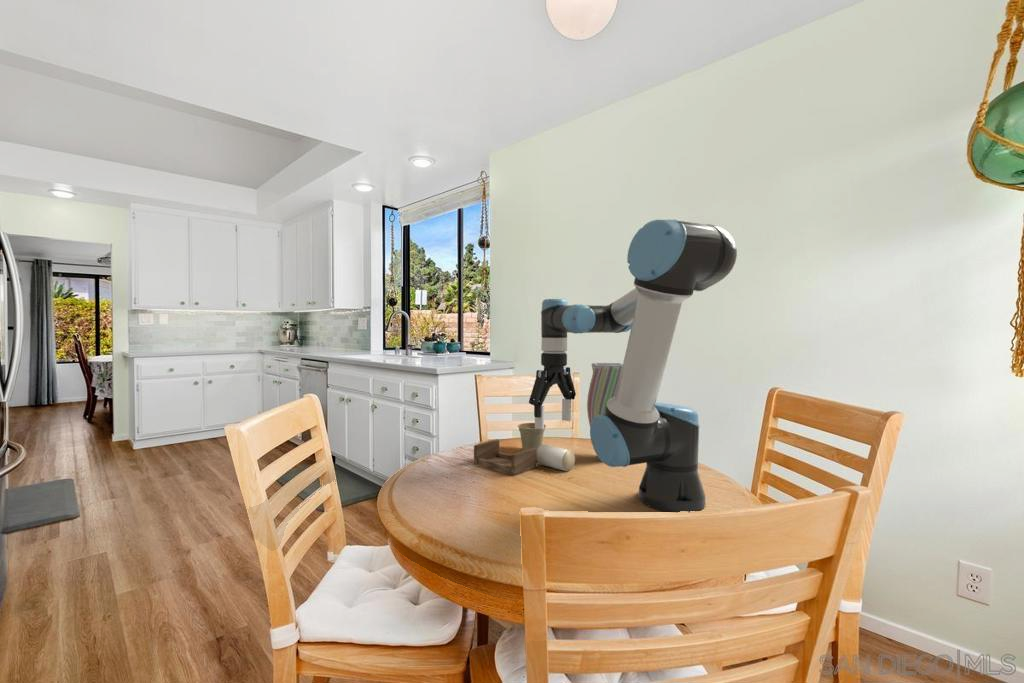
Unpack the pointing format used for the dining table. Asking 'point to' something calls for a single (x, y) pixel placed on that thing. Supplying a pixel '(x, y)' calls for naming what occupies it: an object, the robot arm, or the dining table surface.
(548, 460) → the roll
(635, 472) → the dining table surface
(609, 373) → the vase
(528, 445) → the flower pot
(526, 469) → the cradle
